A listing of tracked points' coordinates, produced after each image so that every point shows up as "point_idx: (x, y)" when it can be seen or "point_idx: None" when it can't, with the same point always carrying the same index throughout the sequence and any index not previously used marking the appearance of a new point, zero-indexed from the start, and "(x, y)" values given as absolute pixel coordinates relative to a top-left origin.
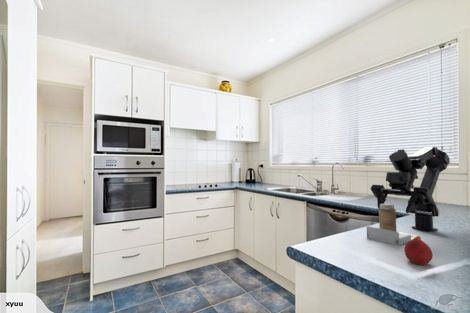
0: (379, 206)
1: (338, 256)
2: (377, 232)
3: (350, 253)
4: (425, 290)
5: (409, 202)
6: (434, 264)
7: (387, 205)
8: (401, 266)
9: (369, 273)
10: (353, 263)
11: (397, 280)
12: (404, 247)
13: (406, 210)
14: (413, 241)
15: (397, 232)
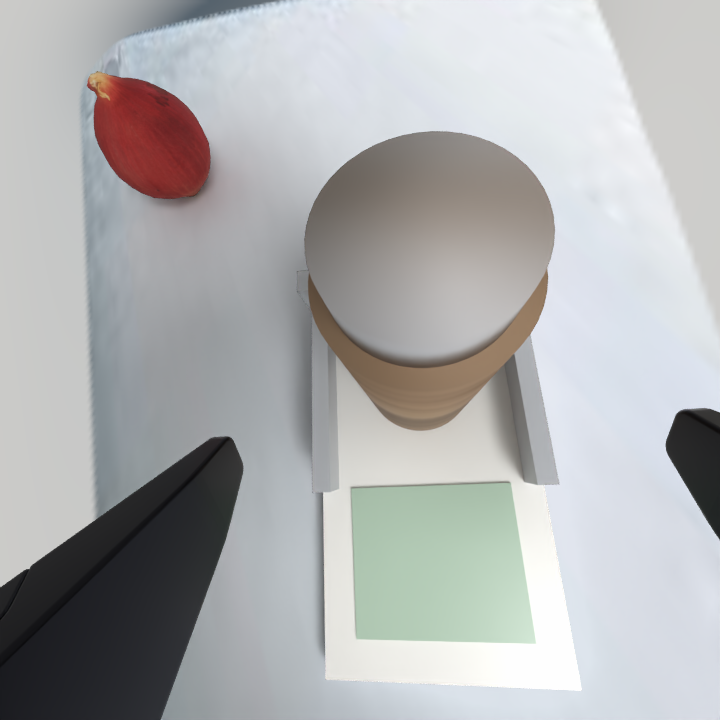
0: (705, 439)
1: (399, 30)
2: None
3: (397, 82)
4: (144, 78)
5: (58, 593)
6: (164, 259)
7: (360, 159)
8: (229, 145)
9: (264, 32)
10: (330, 36)
11: (201, 63)
12: (192, 115)
13: (210, 442)
14: (127, 78)
15: (298, 275)
